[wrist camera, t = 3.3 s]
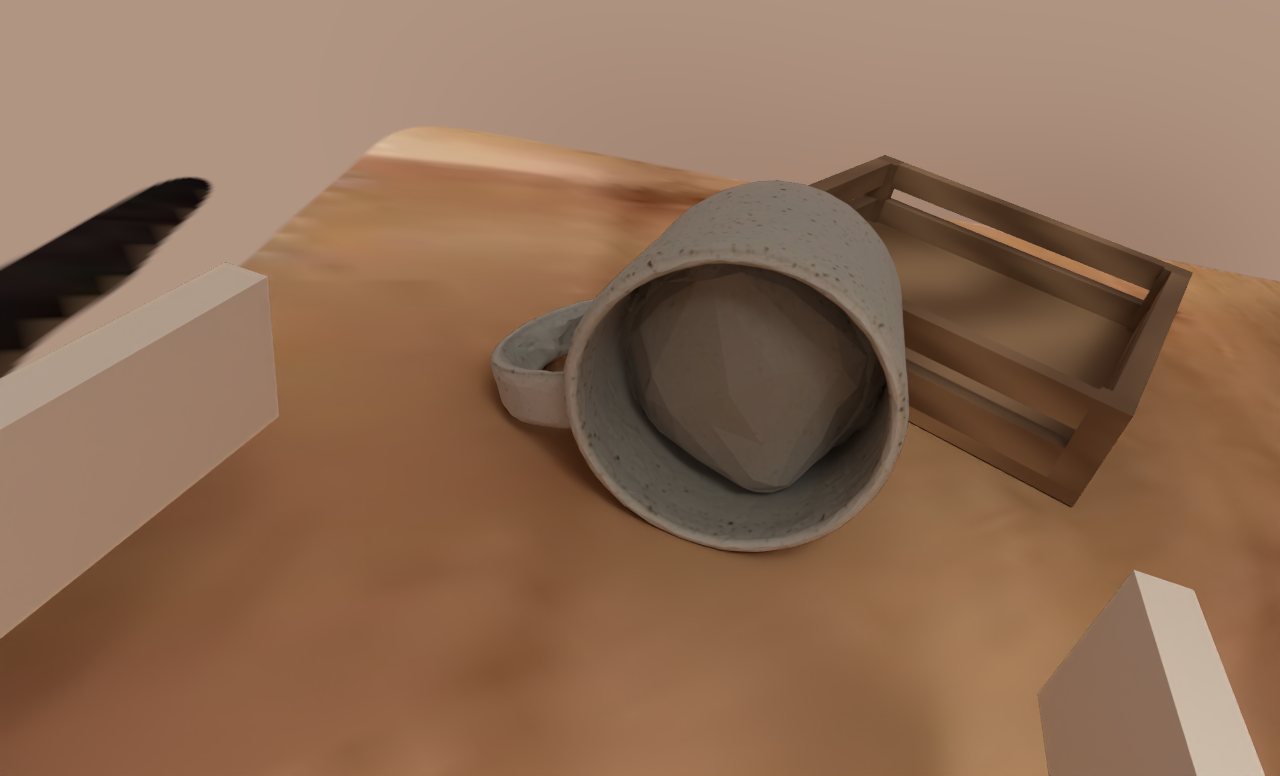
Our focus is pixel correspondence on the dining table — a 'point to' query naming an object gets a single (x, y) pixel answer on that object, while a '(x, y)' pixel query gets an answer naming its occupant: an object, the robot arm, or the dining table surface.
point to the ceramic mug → (732, 371)
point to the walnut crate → (1014, 326)
